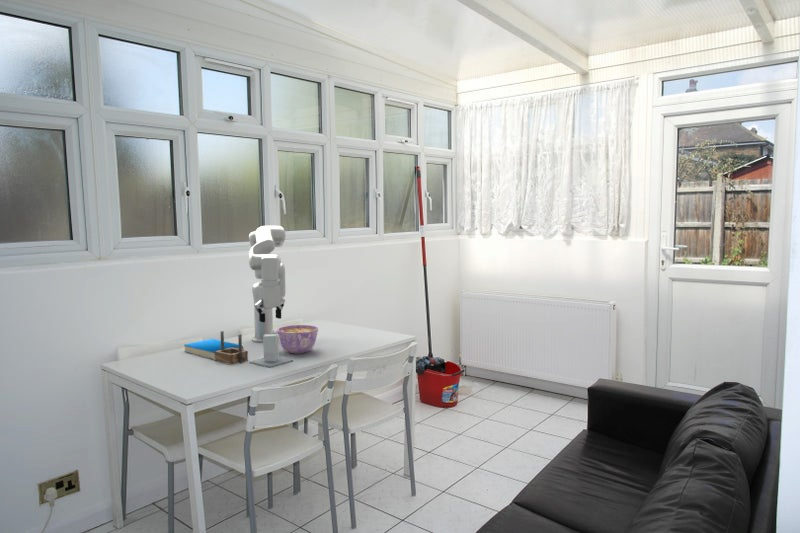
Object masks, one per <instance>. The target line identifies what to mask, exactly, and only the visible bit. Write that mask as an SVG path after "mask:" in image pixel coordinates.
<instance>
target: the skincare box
mask: <svg viewBox="0 0 800 533" xmlns="http://www.w3.org/2000/svg"><path fill="white" fill-rule="evenodd" d="M278 339H279V338H278V334H265V335H264V336H263V342H262V348H263V350H262V351H263V358H264V362H277V361H278V357H279V343H278V342H279V341H278Z"/></svg>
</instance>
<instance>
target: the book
mask: <svg viewBox="0 0 800 533" xmlns="http://www.w3.org/2000/svg"><path fill="white" fill-rule="evenodd" d="M183 346H184V352H187V353H190V354H194V355H197V356H201V357H205V358H209V359H212V360H215V351H219V350H221V339H220V340H219V339H215V338H211V339H206V340H200V341H195V342H190V343H186V344H183ZM227 348H236V349H239V343H238V344H236V343H232V342H227V341H224V349H227ZM242 350H245V349H244V347H243V345H242Z"/></svg>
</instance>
